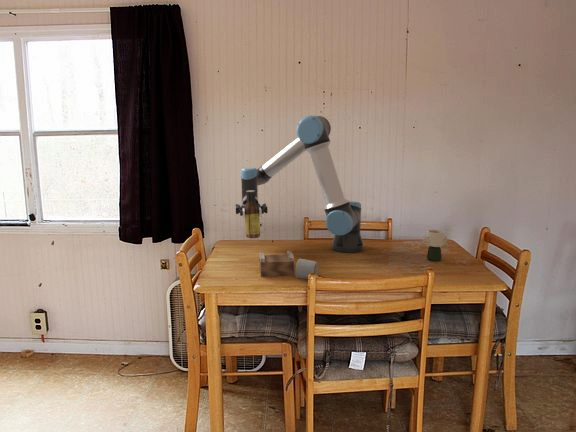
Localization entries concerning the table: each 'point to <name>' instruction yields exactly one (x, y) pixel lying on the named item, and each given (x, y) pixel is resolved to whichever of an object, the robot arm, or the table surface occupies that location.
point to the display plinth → (276, 265)
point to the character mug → (435, 243)
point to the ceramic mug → (306, 268)
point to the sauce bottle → (252, 216)
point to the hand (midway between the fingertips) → (252, 213)
